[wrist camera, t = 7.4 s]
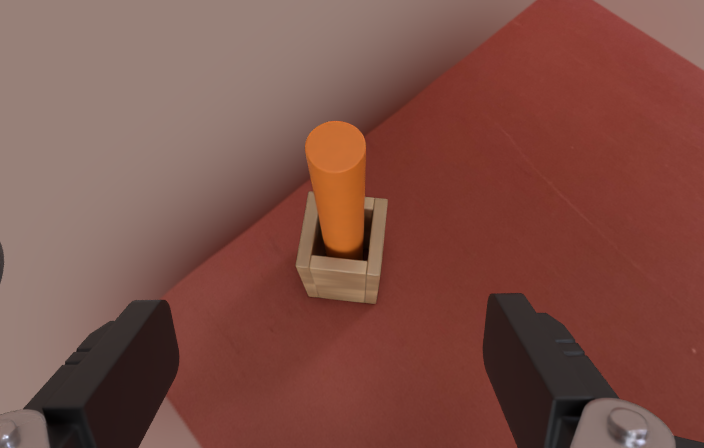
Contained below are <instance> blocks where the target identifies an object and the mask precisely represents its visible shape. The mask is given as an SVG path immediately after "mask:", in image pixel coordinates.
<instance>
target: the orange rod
mask: <svg viewBox="0 0 704 448" xmlns="http://www.w3.org/2000/svg"><path fill="white" fill-rule="evenodd" d="M305 152H306V158H307V162H308V167H309V172H310V177H311V182H312V187H313V192H314V197H315V201H316V206H317V211H318V216H319V221H320V226H321V231H322V236H323V240H324V245H325V250H326V255H327V257H333V258H342V259H351V260H360V261H363V239H364V202H365V166H366V142H365V139H364V136H363V135H362V133H361V132H360V131H359V130H358V129H357V128H356V127H354V126H353V125H351V124H349V123H346V122H341V121H330V122H326V123H323V124H321V125H319V126H317V127H316V128H315V129H314V130H313V131H312V132H311V133H310V134H309V136H308V138H307V140H306V143H305Z"/></svg>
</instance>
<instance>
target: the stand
mask: <svg viewBox="0 0 704 448" xmlns="http://www.w3.org/2000/svg"><path fill="white" fill-rule="evenodd" d="M387 204H388V200H387V199H380V198H375V199H374V198H370V197H365V202H364V239H363V248H365V249H369V253H368V262H367V261H360V260H351V259H342V258H333V257H325V256H326V250H325V245H324V240H323V236H322V231H321V226H320V221H319V216H318V211H317V206H316V201H315V197H314V192H308V198H307V203H306V209H305V215H304V220H303V226H302V232H301V237H300V243H299V249H298V254H297V260H296V268H297V271H298V273H299V275H300V278H301V280H302V282H303V285H304V287H305V289H306V292H307V294H308V296H310V297H320V298H326V299H335V300H344V301H352V302H361V303H364V302H365V303H371V304H376V301H377V294H378V288H379V282H380V275H381V265H382V255H383V245H384V234H385V224H386V214H387Z"/></svg>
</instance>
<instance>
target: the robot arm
mask: <svg viewBox="0 0 704 448" xmlns="http://www.w3.org/2000/svg"><path fill="white" fill-rule="evenodd" d="M584 353H585V352H584V351H583V350H582V348H581V347H580V346H579V344H578V343H575V339H574V338H573V337H572V335H571V334H570V333H569V331H568V330H567V329H566V327H565V326H564V325H563V324H561V323H560V322H558V321H557V320H556V319H554V318H553V317H551V316H550V315H548V314H547V313H536V312H535V310H534V309H533V307H532V306H531V304H530V303H529V301H528V300H527V299H526V297H525V296H524V295H523V294H522V293H501V294H490V296H489V298H488V303H487V312H486V321H485V330H484V340H483V359H484V365H485V369H486V372H487V374H488V377H489V379H490V382H491V384H492V386H493V389H494V391H495V394H496V396H497V398H498V401H499V403H500V406H501V408H502V411H503V413H504V415H505V418H506V420H507V423H508V425H509V427H510V430H511V432H512V435H513V437H514V439H515V442H516V444H517V447H518V448H704V443H702V442H698V441H694V440H689V439H685V438H681V437H677V436H673V435H672V433H671V431H670V430H669V428H668V427H667V426H666V425H665V424H664V423H663V422H662V421H661V420H660V419H659V418H658V417H657V416H655V415H654V414H653V413H651V412H650V411H648V410H646V409H644V408H643V407H641V406H638V405H636V404H634V403H631V402H628V401H625V400H621V399H619V397H618V396H617V395H616V393H615V392H614V391H613V389H612V388H611V387H610V385H609V384H608V383H607V381H606V380H605V379H604V377H603V376H602V375H601V373H600V372H599V371H598V369H597V368H596V367H595V366H594V364H593V363H592V362H591V360H590V359H589V358H588V356H585V354H584ZM178 366H179V349H178V344H177V339H176V334H175V329H174V325H173V320H172V315H171V310H170V306H169V304H168V302H167V301H166V300H135V301H132V302H131V303H130V304H129V305H128V306H127V307H126V309H125V310H124V311H123V312H122V313H121V314H120V316H119V317H118V318H117V319H116V320H115V321H110V322H108V323H106V324H105V325H103V326H102V327H100V328H99V329H97V330H96V331H94V332H92V333H91V334H90V335H89V336H88V337H87V338H86V339H85V340H84V341H83V342H82V344H81V345H80V346H79V347H78V348H77V351H76V352H74V353H73V354H72V355H71V356H70V357H69V358H68V359H67V360H66V361H65V365H62V366H61V367H60V368H59V369H58V370H57V372H56V373H55V374H54V375H53V376H52V377H51V378H50V379H49V381H48V382H47V383H46V384H45V385H44V386H43V387H42V388H41V389H40V391H39V392H38V393H37V394H36V395H35V396H34V398H32V400H31V401H30V402H29V403H28V404H27V405H26V406H25V407H24V408H23V410H16V411H11V412H7V413H4V414H1V415H0V448H138V447H139V445H140V444H141V441H142V440H143V438H144V436H145V434H146V432H147V430H148V428H149V426H150V424H151V423H152V421H153V419H154V417H155V415H156V413H157V411H158V409H159V407H160V405H161V403H162V401H163V400H164V398H165V396H166V394H167V392H168V390H169V388H170V386H171V384H172V382H173V381H174V379H175V377H176V374H177V371H178Z"/></svg>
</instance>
